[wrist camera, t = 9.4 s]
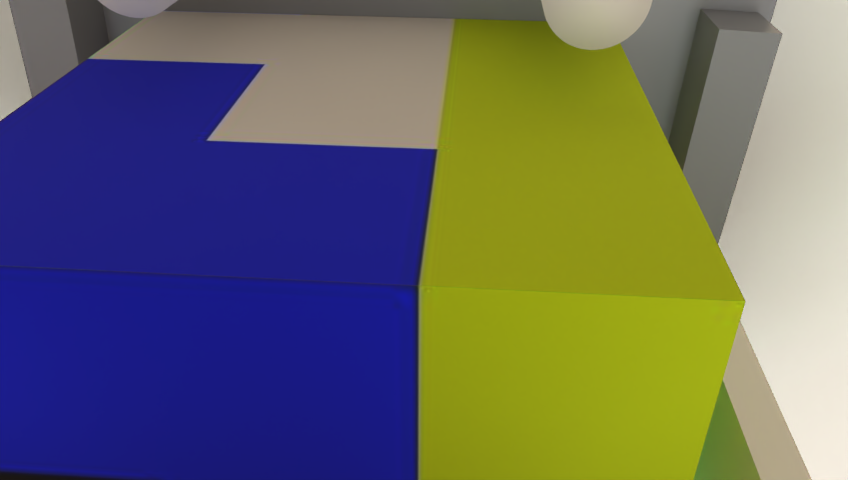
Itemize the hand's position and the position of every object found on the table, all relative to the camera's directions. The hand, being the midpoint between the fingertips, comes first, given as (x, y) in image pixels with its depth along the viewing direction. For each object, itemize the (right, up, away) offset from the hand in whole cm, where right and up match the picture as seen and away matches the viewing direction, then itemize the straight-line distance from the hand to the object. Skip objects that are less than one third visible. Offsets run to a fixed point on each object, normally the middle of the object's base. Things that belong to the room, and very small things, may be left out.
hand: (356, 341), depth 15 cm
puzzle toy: (0, +3, +4) cm, 5 cm away
